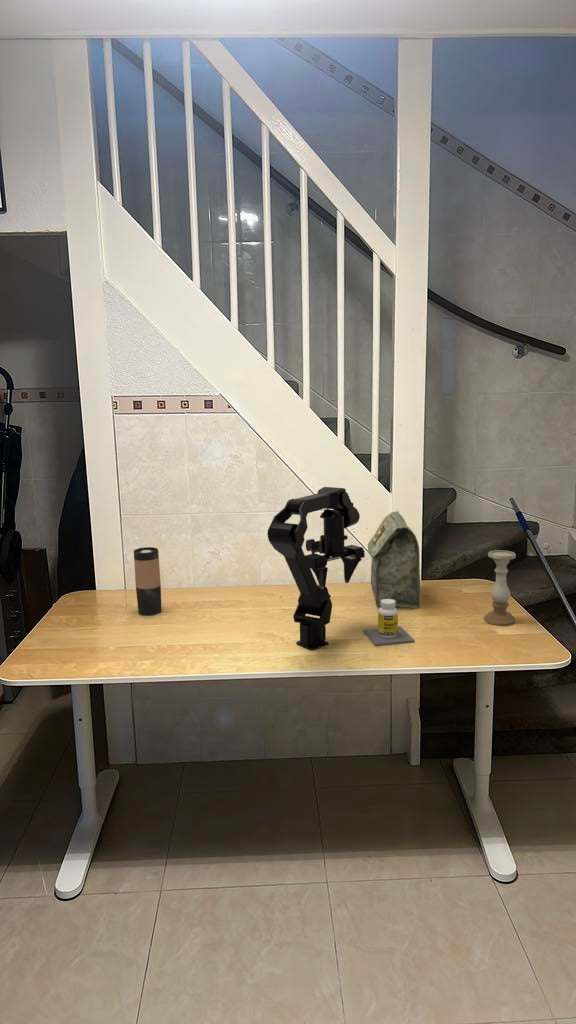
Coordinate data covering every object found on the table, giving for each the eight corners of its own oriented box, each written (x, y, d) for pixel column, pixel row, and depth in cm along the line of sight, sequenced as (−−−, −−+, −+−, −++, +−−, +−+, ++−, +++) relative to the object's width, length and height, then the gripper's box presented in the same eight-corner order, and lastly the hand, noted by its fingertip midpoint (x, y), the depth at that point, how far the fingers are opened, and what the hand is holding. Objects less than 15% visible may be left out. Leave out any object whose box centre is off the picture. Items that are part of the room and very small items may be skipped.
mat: (375, 646, 184) (375, 643, 184) (363, 631, 195) (363, 629, 195) (414, 642, 186) (414, 640, 186) (400, 628, 197) (400, 626, 197)
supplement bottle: (383, 639, 187) (383, 605, 185) (374, 632, 192) (374, 599, 190) (401, 636, 189) (401, 602, 187) (392, 630, 194) (392, 596, 192)
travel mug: (165, 608, 220) (161, 547, 216) (158, 616, 213) (154, 553, 209) (141, 607, 221) (137, 547, 217) (134, 615, 213) (129, 553, 210)
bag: (366, 588, 235) (365, 509, 230) (413, 588, 234) (414, 509, 229) (371, 610, 213) (371, 523, 208) (424, 610, 212) (425, 522, 207)
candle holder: (518, 626, 196) (521, 557, 192) (487, 626, 197) (489, 557, 193) (511, 615, 205) (513, 549, 201) (481, 615, 205) (483, 549, 202)
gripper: (338, 522, 204) (339, 573, 206) (289, 532, 192) (291, 586, 195) (365, 528, 195) (366, 581, 198) (315, 539, 184) (316, 595, 187)
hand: (334, 586), depth 195 cm, fingers open, 9 cm apart
